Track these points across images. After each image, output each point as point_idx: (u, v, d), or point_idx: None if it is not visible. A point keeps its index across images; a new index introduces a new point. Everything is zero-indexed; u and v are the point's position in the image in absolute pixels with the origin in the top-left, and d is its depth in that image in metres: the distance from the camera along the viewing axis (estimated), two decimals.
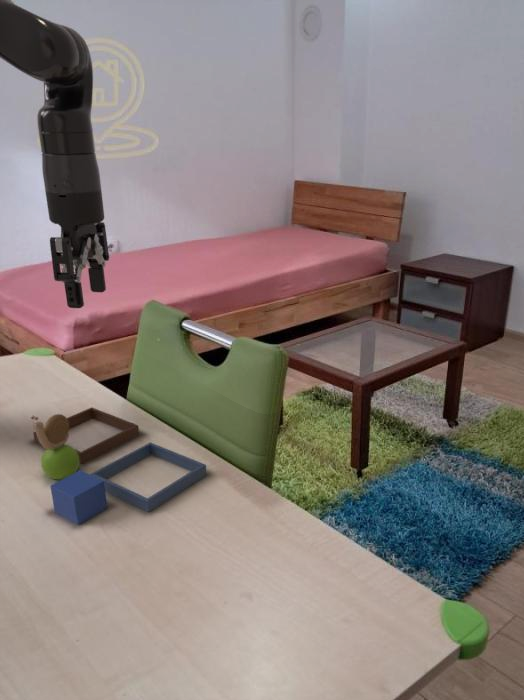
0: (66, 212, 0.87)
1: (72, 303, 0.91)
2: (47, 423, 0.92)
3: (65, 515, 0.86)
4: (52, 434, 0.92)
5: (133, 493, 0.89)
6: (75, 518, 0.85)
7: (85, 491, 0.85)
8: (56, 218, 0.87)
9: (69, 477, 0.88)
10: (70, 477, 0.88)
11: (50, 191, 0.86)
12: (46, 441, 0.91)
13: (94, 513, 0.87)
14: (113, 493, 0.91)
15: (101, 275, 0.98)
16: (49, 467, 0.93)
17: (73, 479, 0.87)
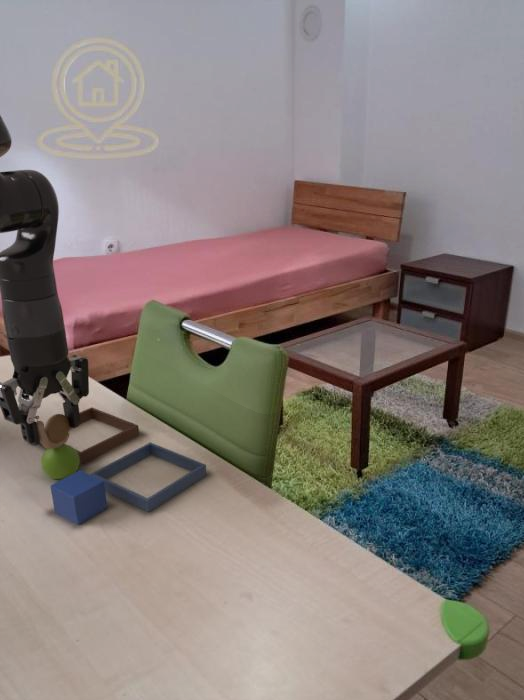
0: (15, 354, 0.84)
1: (26, 440, 0.90)
2: (48, 423, 0.92)
3: (65, 515, 0.86)
4: (52, 434, 0.92)
5: (133, 493, 0.89)
6: (75, 518, 0.85)
7: (85, 491, 0.85)
8: None
9: (69, 477, 0.88)
10: (70, 477, 0.88)
11: (6, 331, 0.85)
12: (46, 440, 0.91)
13: (94, 513, 0.87)
14: (113, 493, 0.91)
15: (72, 412, 0.94)
16: (49, 466, 0.93)
17: (73, 479, 0.87)
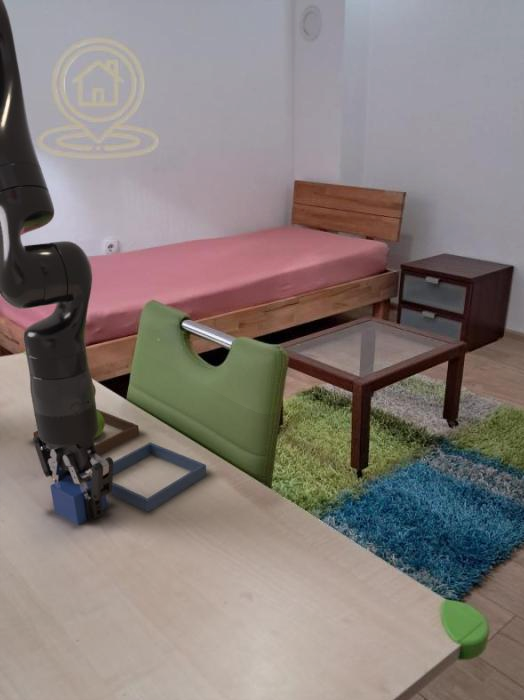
0: None
1: None
2: None
3: (65, 515, 0.86)
4: None
5: (133, 493, 0.89)
6: (75, 518, 0.85)
7: None
8: None
9: (69, 477, 0.88)
10: (70, 477, 0.88)
11: None
12: None
13: None
14: (113, 493, 0.91)
15: (84, 504, 0.85)
16: None
17: None
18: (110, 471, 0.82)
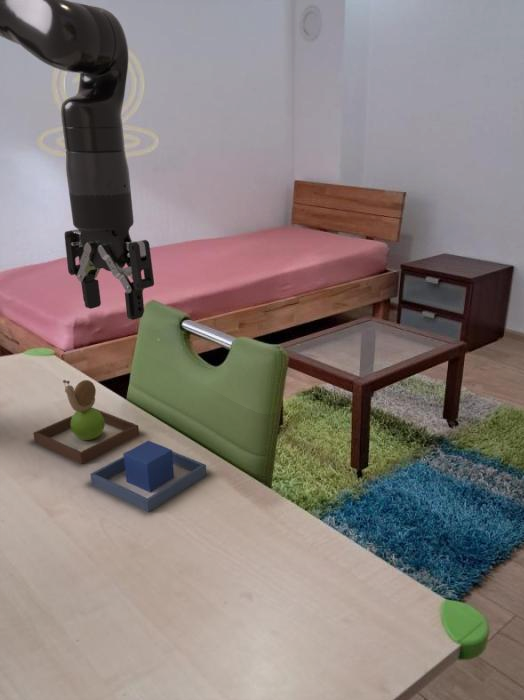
0: None
1: None
2: (77, 387, 1.02)
3: (137, 481, 0.93)
4: (81, 397, 1.02)
5: (133, 493, 0.89)
6: (147, 483, 0.92)
7: (156, 458, 0.92)
8: None
9: (139, 446, 0.95)
10: (140, 446, 0.95)
11: None
12: (76, 403, 1.02)
13: (163, 479, 0.94)
14: (113, 493, 0.91)
15: (125, 299, 0.83)
16: (78, 427, 1.03)
17: (143, 448, 0.94)
18: (147, 254, 0.80)
